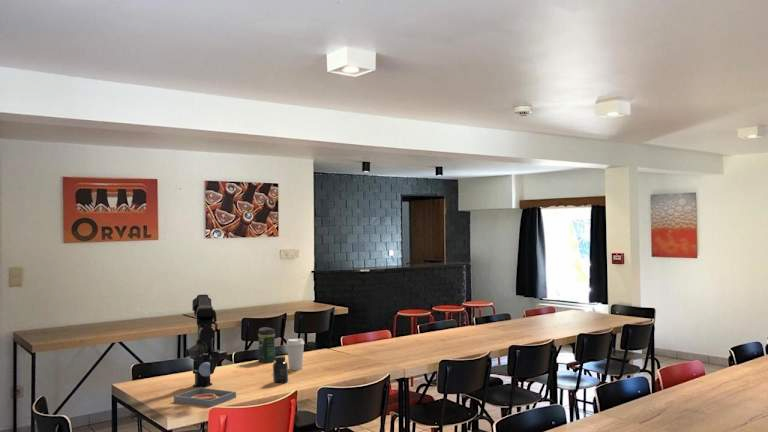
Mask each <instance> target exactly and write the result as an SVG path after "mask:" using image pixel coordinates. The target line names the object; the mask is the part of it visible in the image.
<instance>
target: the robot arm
mask: <svg viewBox="0 0 768 432" xmlns="http://www.w3.org/2000/svg"><path fill="white" fill-rule="evenodd" d="M191 302H192V306H191V307H192V309H191V310H192V312H193V315H194V317H195V320H196V325H197V339H196V341H195V344H194V345H192V346H191V347H190V348H187V349H186V350H185V351H184V357H189V358H190V359H192V374H194V384H192V387H195V388H196V387H197V388H200V387H201V388H207V387H209V386H211V385H213V383H212V382H211V375H213V374H214V372H215V370H216V367H217V365H218V364H219V362H220V360H221V359H223V358H227V357H228V352H227V350H226V349H215V347H214V346H213V344H214V343H213V342H215V341H216V340H215V338H214V336H215V330H214V328H213V325H215V324H216V322H217V311H216V310H215V309H214V308H213V306H212V299H211V298H210V297H209V294H198V295H196V297H195V298H194V299H193V300H192V301H191ZM204 362H209V363H210V373H211V375H209V376H202V375H201V374H200V373H199V367H200V365H201V364H202V363H204Z"/></svg>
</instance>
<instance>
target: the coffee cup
mask: <svg viewBox="0 0 768 432" xmlns="http://www.w3.org/2000/svg"><path fill="white" fill-rule="evenodd" d="M285 344H286V349H287V356H288V367H289V369H288V370H290V371H299V370H303V363H304V362H303V361H304V360H303V358H304V348H305V347H304V345H305V341H304V339H303V338H289V339H287V341H286V343H285Z"/></svg>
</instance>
